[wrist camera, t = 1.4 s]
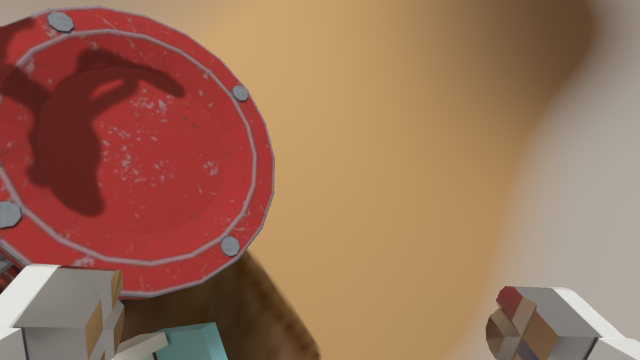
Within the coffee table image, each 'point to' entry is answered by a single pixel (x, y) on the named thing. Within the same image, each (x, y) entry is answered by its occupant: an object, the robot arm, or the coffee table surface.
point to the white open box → (141, 347)
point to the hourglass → (125, 151)
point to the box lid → (192, 343)
